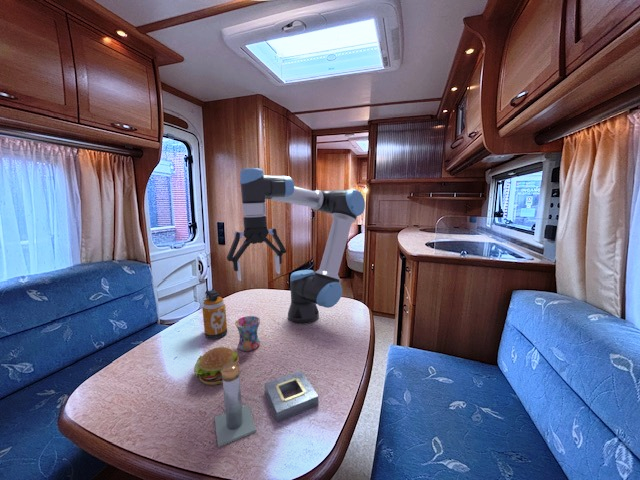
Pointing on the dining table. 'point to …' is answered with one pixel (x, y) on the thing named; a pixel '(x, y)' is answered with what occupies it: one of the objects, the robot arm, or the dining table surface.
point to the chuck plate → (294, 403)
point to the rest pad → (231, 435)
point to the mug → (248, 332)
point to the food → (214, 364)
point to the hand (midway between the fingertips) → (259, 276)
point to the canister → (214, 315)
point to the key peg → (232, 395)
